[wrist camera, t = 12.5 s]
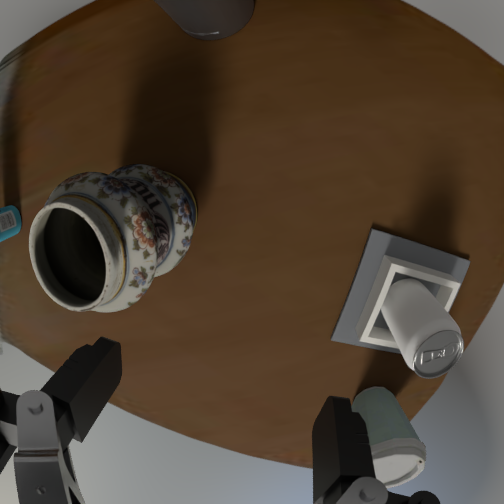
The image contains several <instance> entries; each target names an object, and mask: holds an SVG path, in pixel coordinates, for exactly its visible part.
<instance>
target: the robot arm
mask: <svg viewBox="0 0 504 504" xmlns="http://www.w3.org/2000/svg"><path fill="white" fill-rule="evenodd" d="M154 1H155V2H156V3H157V4H158V5H159V6H160V7H161V8H162V9H163V10H164V11H165V12H166V13H167V14H168V15H169V16H170V17H171V18H172V19H173V20H174V21H175V22H176V23H177V24H178V25H179V26H180V27H181V28H182V29H183V30H184V31H185V32H186V33H187V34H189V35H190V36H192V37H195V38H197V39H202V40H216V39H222V38H225V37H228V36H230V35H232V34H234V33H236V32H238V31H239V30H240V29H242V28H243V27H244V26H245V25H246V24H247V23H248V21H249V20H250V18H251V16H252V14H253V10H254V1H253V0H154ZM121 376H122V360H121V345H120V343H119V342H116V341H113V340H111V339H108V338H105V337H100V338H99V339H98V340H97V341H96V342H95V343H94V345H93V346H91V345H88V344H86V345H84V346H82V347H80V348H78V349H76V350H75V351H74V353H73V354H72V355H71V356H70V357H69V359H67V360H66V361H65V363H64V364H63V366H61V367H60V368H59V369H58V370H57V372H56V373H55V374H54V375H53V376H52V377H51V378H50V380H49V381H48V382H47V383H46V384H45V385H44V387H43V388H42V389H41V390H40V391H38V390H31V391H27V392H25V393H23V394H22V395H21V396H20V395H16V394H12V393H8V392H5V391H1V389H0V474H1V472H2V470H3V469H4V467H5V465H6V464H7V462H8V460H9V459H10V457H11V456H12V454H13V452H14V451H15V449H16V448H17V447H18V453H14V469H15V476H16V484H17V492H18V498H19V503H20V504H85V502H84V499H83V497H82V494H81V492H80V489H79V486H78V483H77V479H76V475H75V471H74V467H73V462H72V458H71V453H70V449H69V443H70V442H71V440H72V439H75V440H77V441H80V442H81V443H82V442H83V440H84V438H85V437H86V435H87V434H88V432H89V430H90V429H91V427H92V425H93V424H94V422H95V421H96V419H97V417H98V416H99V414H100V413H101V411H102V410H103V408H104V407H105V405H106V403H107V402H108V400H109V399H110V397H111V396H112V394H113V393H114V391H115V389H116V388H117V386H118V385H119V383H120V380H121ZM367 435H368V432H367V427H366V422H365V421H364V419H363V418H362V416H361V415H360V413H359V412H352V408H351V403H350V399H349V398H344V397H336V396H329V397H328V398H327V400H326V402H325V403H324V405H323V407H322V409H321V411H320V413H319V415H318V416H317V418H316V420H315V422H314V426H313V431H312V447H313V504H440V501H439V499H438V498H437V497H436V496H435V495H434V494H432V493H431V492H428V491H418V492H416V493H414V494H413V495H412V496H411V497H408V496H404V495H399V494H395V493H392V492H389V491H387V488H386V486H385V485H384V484H383V483H382V482H381V481H380V480H378V479H376V475H375V469H374V464H373V458H372V453H371V447H370V445H369V443H370V442H369V437H368V436H367Z"/></svg>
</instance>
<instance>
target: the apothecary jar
mask: <svg viewBox="0 0 504 504" xmlns="http://www.w3.org/2000/svg"><path fill="white" fill-rule="evenodd" d="M196 222H197V206H196V202H195V198H194V196H193V194H192V192H191V190H190V189H189V187H188V186H187V185H186V184H185V183H184V182H183V181H182V180H181V179H180V178H178V177H177V176H175V175H174V174H171V173H169V172H165V171H162V170H160V169H158V168H156V167H153V166H149V165H144V164H132V165H127V166H123V167H121V168H118V169H117V170H115V171H113V172H112V173H110V174H109V175H107V174H104V173H98V172H86V173H80V174H77V175H74V176H72V177H70V178H68V179H66V180H65V181H63V182H62V183H61V184H59V185H58V186H57V187H56V188H55V190H54V191H53V192H52V193H51V195H50V196H49V198H48V200H47V202H46V204H45V206H44V208H43V209H42V210H41V211H40V212H39V213H38V214H37V216H36V217H35V219H34V221H33V223H32V226H31V230H30V236H29V251H30V257H31V262H32V265H33V269H34V272H35V274H36V276H37V279H38V281H39V283H40V284H41V286H42V287H43V289H44V290H45V292H46V293H47V294H48V295H49V296H50V297H51V298H52V299H53V300H54V301H55V302H56V303H58V304H59V305H61V306H62V307H64V308H66V309H69V310H73V311H88V310H93V311H98V312H115V311H119V310H122V309H125V308H127V307H129V306H131V305H133V304H134V303H136V302H137V301H138V300H139V299H140V298H141V297H142V296H143V295H144V293H145V292H146V291H147V289H148V288H149V286H150V284H151V282H152V280H153V278H154V277H156V276H159V275H162V274H164V273H166V272H168V271H170V270H171V269H173V268H174V267H175V266H176V265H177V264H178V263H179V262H180V261H181V260H182V258H183V257H184V256H185V254H186V252H187V250H188V248H189V245H190V242H191V239H192V234H193V231H194V229H195V226H196Z"/></svg>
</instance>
